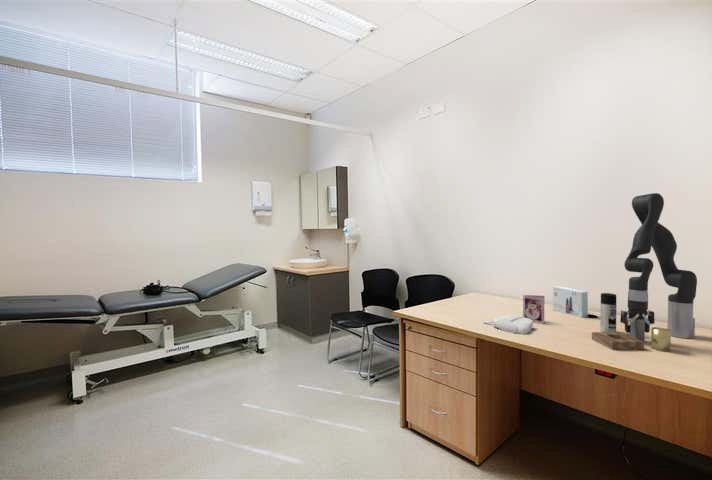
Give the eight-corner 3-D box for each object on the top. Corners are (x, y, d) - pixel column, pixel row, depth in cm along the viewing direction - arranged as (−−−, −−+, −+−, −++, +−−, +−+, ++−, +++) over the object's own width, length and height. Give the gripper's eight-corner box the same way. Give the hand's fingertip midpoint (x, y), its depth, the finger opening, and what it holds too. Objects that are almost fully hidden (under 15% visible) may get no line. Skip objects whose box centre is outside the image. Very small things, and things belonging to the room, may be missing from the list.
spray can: (609, 334, 175) (610, 295, 174) (596, 330, 181) (597, 293, 180) (619, 333, 176) (620, 294, 176) (606, 329, 183) (607, 292, 182)
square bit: (637, 339, 167) (638, 317, 166) (644, 342, 163) (645, 319, 162) (629, 339, 167) (629, 317, 166) (635, 342, 163) (636, 319, 162)
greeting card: (522, 320, 202) (522, 295, 201) (527, 318, 206) (527, 293, 206) (543, 324, 193) (543, 298, 192) (548, 321, 198) (548, 296, 197)
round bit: (661, 346, 157) (662, 327, 156) (674, 351, 150) (675, 331, 150) (647, 346, 157) (647, 327, 157) (659, 351, 150) (659, 331, 150)
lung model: (528, 335, 174) (478, 331, 189) (534, 328, 187) (488, 324, 203) (526, 322, 174) (477, 319, 189) (533, 316, 188) (487, 313, 203)
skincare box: (551, 309, 226) (552, 286, 225) (558, 309, 227) (558, 285, 227) (581, 318, 206) (581, 291, 205) (588, 317, 207) (588, 291, 207)
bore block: (621, 339, 167) (621, 332, 167) (644, 349, 153) (644, 342, 153) (591, 339, 167) (591, 332, 167) (612, 349, 153) (612, 341, 153)
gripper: (646, 297, 167) (645, 330, 168) (616, 297, 168) (616, 330, 168) (659, 300, 160) (658, 334, 160) (628, 300, 160) (627, 334, 161)
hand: (637, 332), depth 164 cm, fingers open, 8 cm apart
